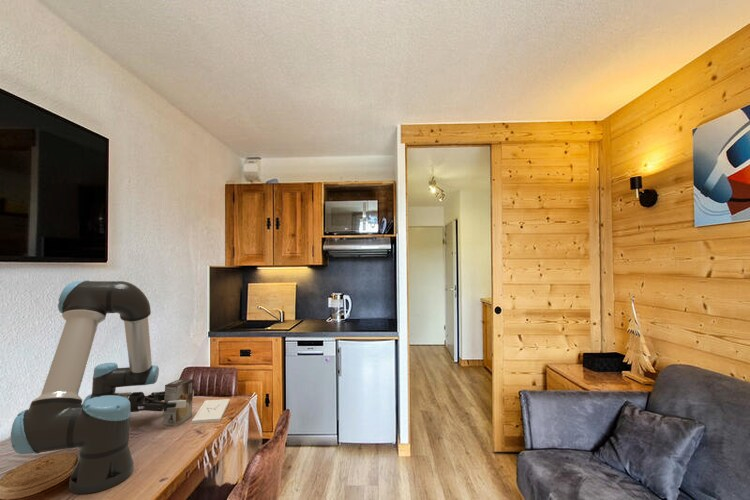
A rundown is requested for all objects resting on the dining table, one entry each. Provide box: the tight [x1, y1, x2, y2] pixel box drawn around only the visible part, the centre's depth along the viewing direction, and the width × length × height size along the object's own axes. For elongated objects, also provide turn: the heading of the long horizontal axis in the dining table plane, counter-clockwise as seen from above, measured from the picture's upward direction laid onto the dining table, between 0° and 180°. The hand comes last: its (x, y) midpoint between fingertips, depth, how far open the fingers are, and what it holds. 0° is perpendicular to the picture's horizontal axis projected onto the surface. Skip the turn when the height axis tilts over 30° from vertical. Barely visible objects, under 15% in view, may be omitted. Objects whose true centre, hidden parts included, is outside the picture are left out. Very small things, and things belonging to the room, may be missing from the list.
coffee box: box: [162, 378, 194, 427], centre depth 141 cm, size 9×6×16 cm
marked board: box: [191, 398, 231, 424], centre depth 150 cm, size 22×11×1 cm, turn 14°
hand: (189, 398), depth 142 cm, fingers closed on coffee box, 10 cm apart
